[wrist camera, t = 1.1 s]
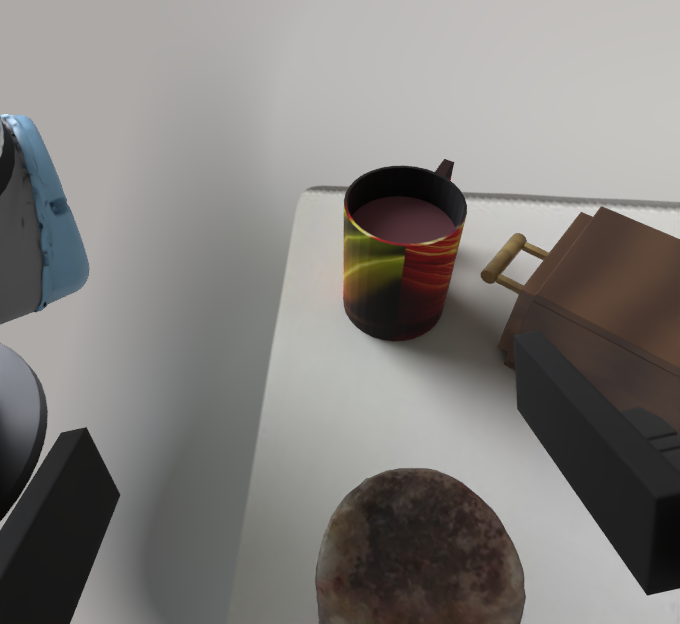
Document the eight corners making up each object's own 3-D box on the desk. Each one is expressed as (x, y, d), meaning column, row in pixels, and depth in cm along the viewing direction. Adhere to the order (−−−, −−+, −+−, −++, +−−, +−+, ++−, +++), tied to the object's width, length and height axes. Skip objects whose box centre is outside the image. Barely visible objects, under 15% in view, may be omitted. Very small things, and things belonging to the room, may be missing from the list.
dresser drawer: (455, 323, 47) (472, 263, 41) (513, 253, 53) (536, 192, 47) (664, 443, 40) (723, 394, 34) (706, 348, 46) (764, 290, 39)
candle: (404, 559, 36) (456, 435, 20) (463, 677, 32) (585, 637, 16) (302, 612, 34) (270, 519, 18) (350, 745, 30) (362, 776, 14)
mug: (438, 237, 55) (458, 138, 46) (446, 343, 47) (473, 249, 38) (348, 233, 56) (349, 135, 46) (340, 338, 47) (340, 243, 38)
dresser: (503, 364, 46) (535, 293, 38) (563, 280, 52) (601, 205, 44) (687, 472, 40) (769, 414, 32) (730, 363, 46) (808, 293, 38)
